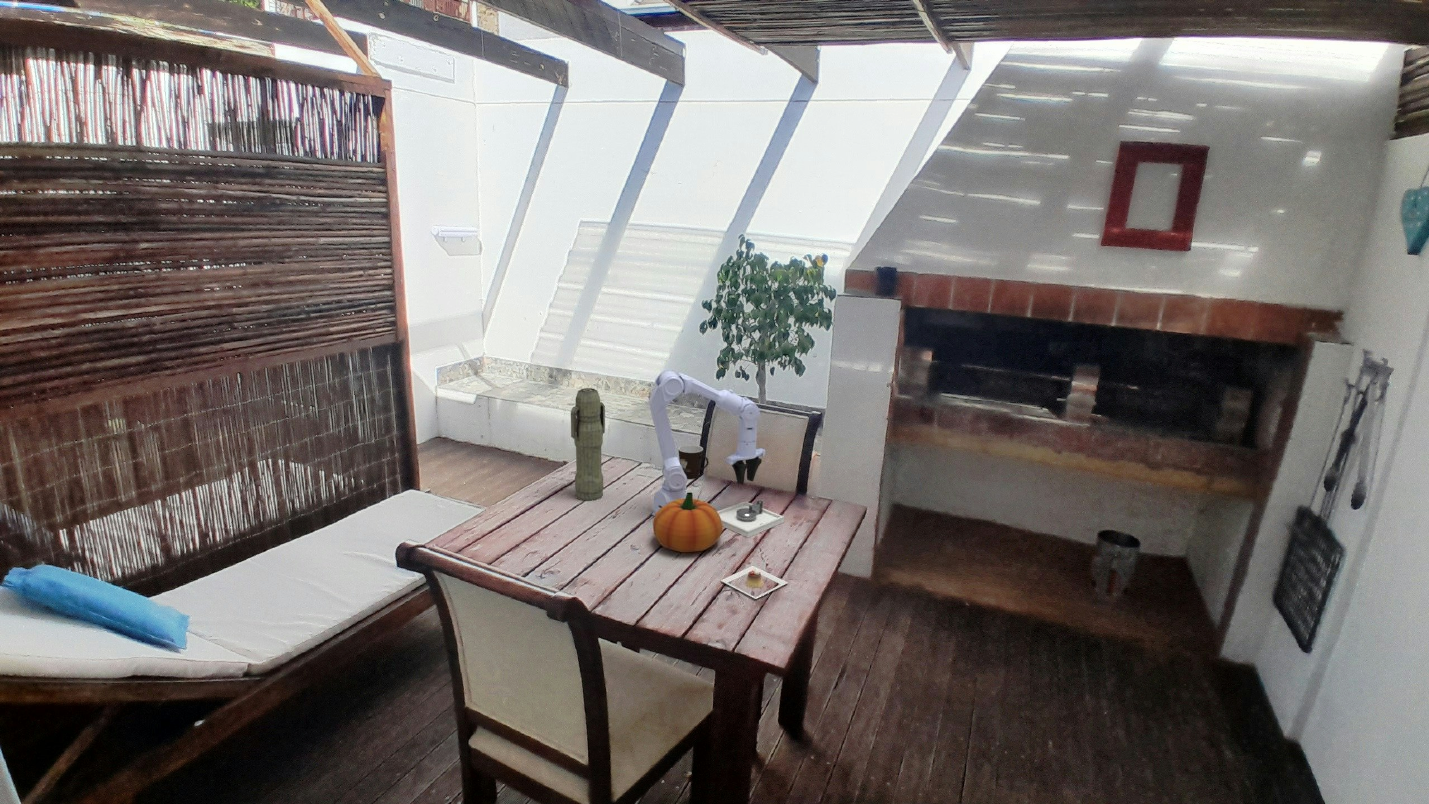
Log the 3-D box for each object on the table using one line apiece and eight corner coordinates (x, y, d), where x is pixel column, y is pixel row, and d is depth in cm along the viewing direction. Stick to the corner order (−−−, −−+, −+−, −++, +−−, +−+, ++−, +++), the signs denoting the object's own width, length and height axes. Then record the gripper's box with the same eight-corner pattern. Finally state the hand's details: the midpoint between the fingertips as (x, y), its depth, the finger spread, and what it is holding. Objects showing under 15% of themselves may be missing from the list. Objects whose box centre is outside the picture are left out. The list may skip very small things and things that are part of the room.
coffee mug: (674, 473, 253) (674, 446, 250) (696, 470, 257) (697, 443, 254) (686, 484, 243) (687, 456, 240) (709, 481, 246) (710, 453, 244)
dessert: (719, 584, 178) (720, 566, 177) (752, 569, 187) (753, 552, 185) (755, 603, 170) (756, 584, 169) (788, 586, 178) (789, 569, 177)
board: (747, 537, 204) (747, 531, 203) (708, 520, 215) (708, 514, 214) (783, 522, 215) (784, 516, 214) (744, 506, 226) (745, 501, 225)
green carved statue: (565, 497, 229) (563, 390, 220) (593, 487, 238) (592, 384, 229) (584, 504, 223) (582, 395, 215) (612, 494, 232) (611, 389, 224)
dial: (746, 522, 210) (747, 512, 209) (732, 516, 214) (732, 506, 214) (768, 513, 217) (769, 503, 216) (754, 507, 221) (754, 498, 220)
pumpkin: (677, 522, 212) (678, 475, 209) (734, 538, 203) (736, 489, 199) (638, 546, 196) (638, 495, 193) (697, 565, 187) (699, 511, 183)
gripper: (754, 432, 224) (753, 473, 228) (720, 440, 215) (719, 483, 218) (771, 437, 219) (768, 479, 223) (736, 446, 210) (734, 490, 213)
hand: (745, 481), depth 220 cm, fingers open, 4 cm apart
